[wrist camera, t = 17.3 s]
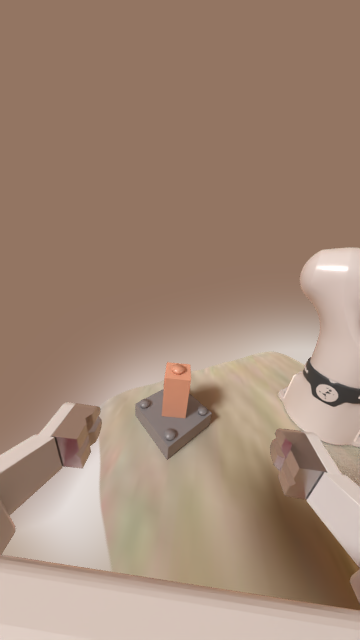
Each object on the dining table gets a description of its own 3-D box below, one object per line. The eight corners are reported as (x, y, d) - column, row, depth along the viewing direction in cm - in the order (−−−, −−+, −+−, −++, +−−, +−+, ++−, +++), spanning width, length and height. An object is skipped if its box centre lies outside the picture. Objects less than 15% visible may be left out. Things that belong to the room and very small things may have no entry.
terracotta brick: (164, 397, 44) (167, 359, 40) (185, 399, 44) (190, 361, 40) (161, 416, 40) (164, 374, 35) (185, 418, 40) (191, 377, 35)
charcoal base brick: (175, 393, 51) (177, 379, 49) (209, 426, 43) (212, 410, 41) (135, 416, 43) (135, 401, 42) (167, 461, 35) (168, 444, 34)
